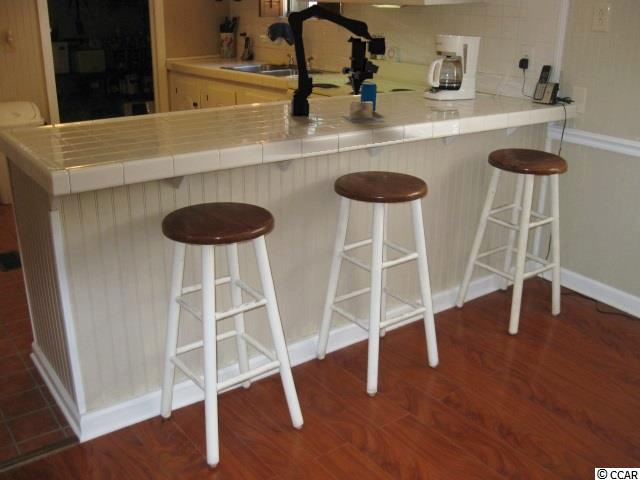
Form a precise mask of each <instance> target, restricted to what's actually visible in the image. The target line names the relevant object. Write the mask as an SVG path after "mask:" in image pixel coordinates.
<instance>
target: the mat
mask: <svg viewBox="0 0 640 480" xmlns="http://www.w3.org/2000/svg"><path fill="white" fill-rule="evenodd" d="M341 118H343V119H345V120H347V121H349V122H351V123H353V124H365V123H366V124H370V123H386V121H385V120H383V119H381V118H378V117H376V116H374V115H372V118H350V115H342V116H341Z"/></svg>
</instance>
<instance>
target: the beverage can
mask: <svg viewBox="0 0 640 480" xmlns="http://www.w3.org/2000/svg"><path fill="white" fill-rule="evenodd" d="M377 90H378V86H377V83H376V82H371V81H368V82H367V81H366V82H365V81H363V82H362V85H361V87H360V102H373V113H374V112H375V111H376V108H377V105H376V104H377Z"/></svg>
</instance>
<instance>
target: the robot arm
mask: <svg viewBox="0 0 640 480" xmlns="http://www.w3.org/2000/svg"><path fill="white" fill-rule="evenodd" d="M315 16H317V17H319V18H321V19H324V20H326V21H329V22H331V23H334V24H335V25H339V26H341V27H343V29H346V30H347V31H348V32H350V33H351V34H353V35H354V36H356V37H354V36H353V35H350V37H349V38H347V40H346V42H347V43H351V50H350V51H351V52H350V56H349V58H348V60H350V66H344V67H343V68H342V71H341V72H342V74H343V75H349V76H347V78H348V81H349V83H350V86H351V88H352V91H353V93H354V95H355V96H359V93H360V91H361V86H362V84H363V82H365V81H366V80H373V79H374V74H375V75H377V73H378V71H379V68H380V66H379V65H377V64H375V63H373V61H371V60H369V59H368V57H367V53H369V55H370V56H385V55H386V50H387V49H386V47H387V46H386V37H384V36H380V37H378V36H376V37H375V36H374V37H373V36H372V35H371V34H370V32H369V26H368V24H367V22H365V21H362V20H359V19H356V18H355V19H354V18H349V17H346V16H343V15H341V14H339V13H336V12H334V11H332V10H330V9H327V8H325V7H323V6H320V4H317V3H314V4H312V5H310V6H309V7H306V8H304V9H302V10H299V11H297V10H293V11H290V12H289V14H288V15H287V23H288V27H289V29H290V31H291V35H292V41H293V46H294V53H295V59H296V60H295V61H296V67H297V88H296V89H295V90H293V92H292V98H291V100H290V104H291V105H290V109H291V111H290V112H289V114H290V115H292V116H293V117H309V116H310V103H309V99H308V97H309V96H311V95H312V94H313V89H314V88H315V86H314V84H313V82H314V81H313V75H309V73H308V68H307V62H306V61H307V60H306V54H305V48H304V39H303V30H304V29H303V28H304V27H303V25H304V22H305V21H308V19H311V18H313V17H315ZM362 38H363V39H365V40H362Z"/></svg>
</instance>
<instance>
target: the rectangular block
mask: <svg viewBox="0 0 640 480" xmlns="http://www.w3.org/2000/svg"><path fill="white" fill-rule="evenodd" d="M373 113H374V112H373V102H361V101H351V102H349V116H350V118H372V116H373Z"/></svg>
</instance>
